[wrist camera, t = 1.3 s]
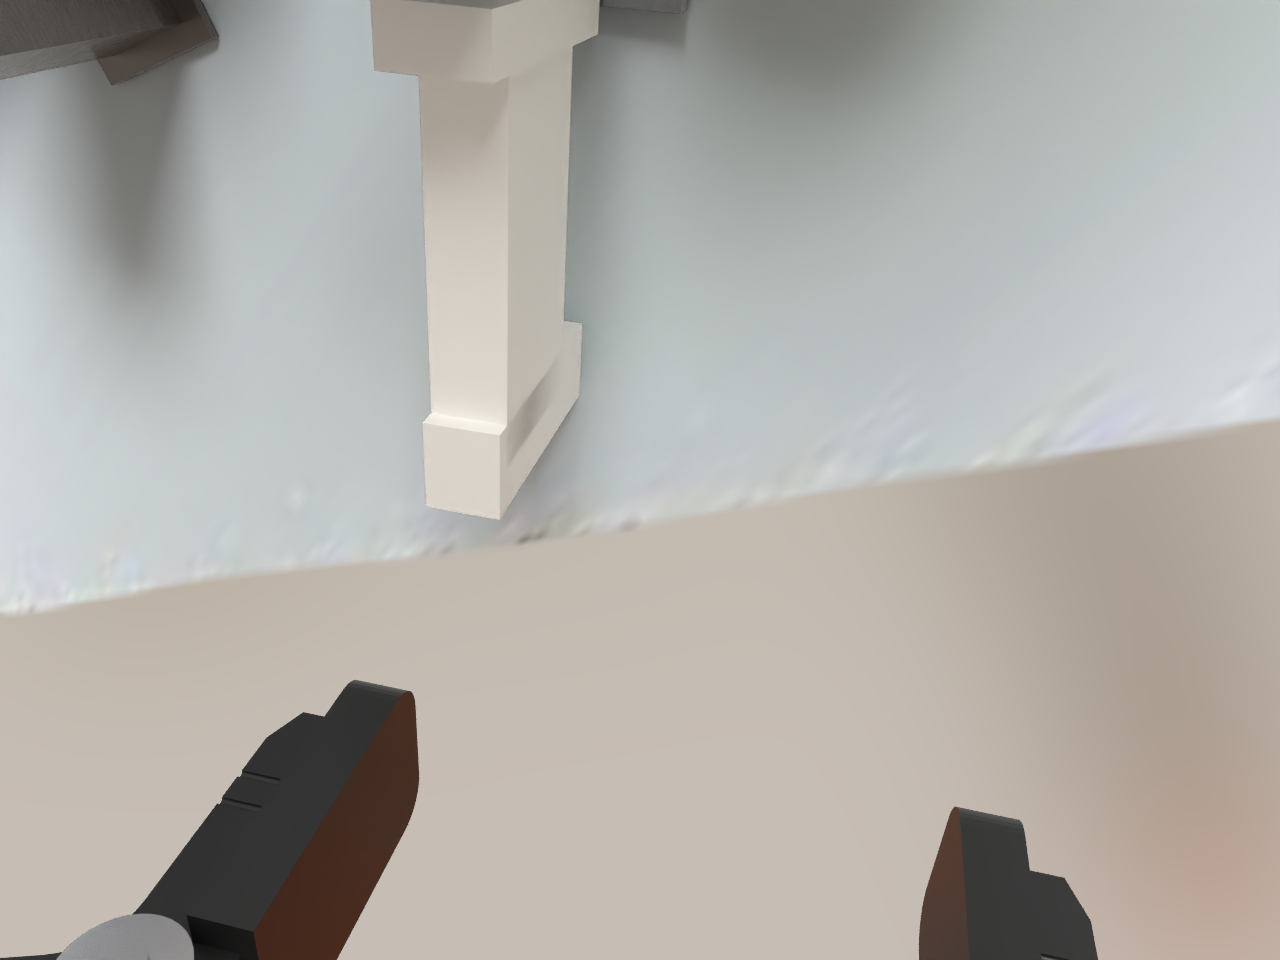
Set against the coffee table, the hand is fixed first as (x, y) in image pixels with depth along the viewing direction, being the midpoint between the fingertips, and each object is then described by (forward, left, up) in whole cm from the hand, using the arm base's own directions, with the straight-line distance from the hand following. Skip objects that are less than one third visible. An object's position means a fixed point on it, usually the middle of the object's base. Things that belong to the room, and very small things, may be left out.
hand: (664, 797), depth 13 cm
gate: (-5, -5, -17) cm, 19 cm away
